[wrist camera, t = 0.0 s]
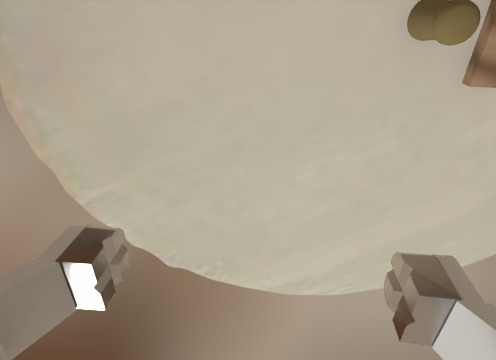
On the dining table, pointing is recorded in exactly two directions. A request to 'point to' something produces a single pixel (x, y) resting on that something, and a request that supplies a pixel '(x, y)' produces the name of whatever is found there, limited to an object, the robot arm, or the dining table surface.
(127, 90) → the dining table surface
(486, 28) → the walnut dock
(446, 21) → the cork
